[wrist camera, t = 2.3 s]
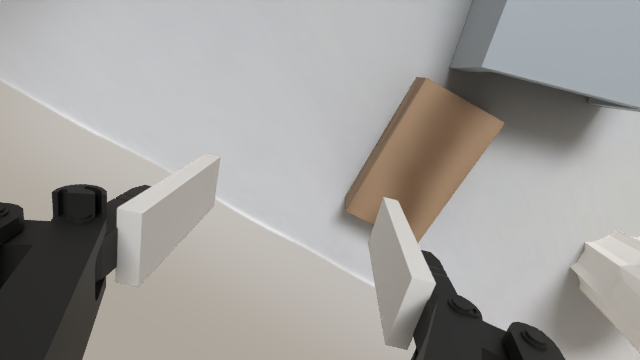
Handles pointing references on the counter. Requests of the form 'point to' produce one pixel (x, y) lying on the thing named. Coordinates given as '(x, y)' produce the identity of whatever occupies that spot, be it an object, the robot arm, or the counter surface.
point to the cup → (613, 281)
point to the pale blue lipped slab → (558, 46)
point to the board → (422, 155)
